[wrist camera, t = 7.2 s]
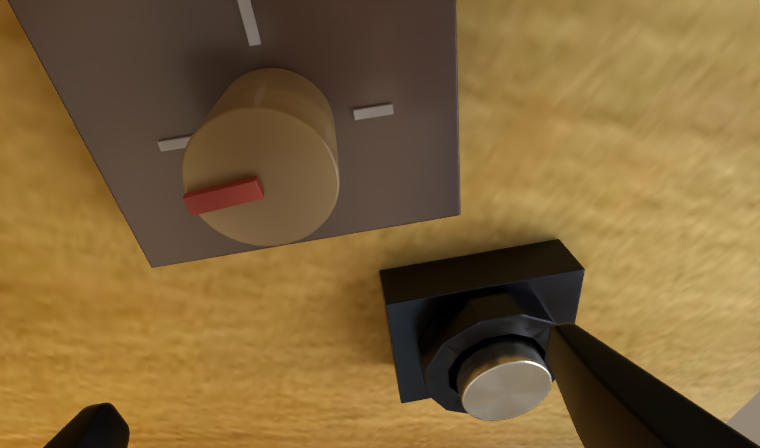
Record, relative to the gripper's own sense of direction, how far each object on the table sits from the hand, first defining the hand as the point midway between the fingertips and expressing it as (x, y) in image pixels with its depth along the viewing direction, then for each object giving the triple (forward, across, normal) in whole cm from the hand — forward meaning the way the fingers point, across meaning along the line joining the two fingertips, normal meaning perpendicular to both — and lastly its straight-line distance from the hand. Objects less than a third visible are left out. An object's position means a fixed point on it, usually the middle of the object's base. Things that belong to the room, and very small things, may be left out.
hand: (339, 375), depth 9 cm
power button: (+8, -6, +11) cm, 15 cm away
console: (+12, +1, -2) cm, 12 cm away
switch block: (+12, -6, +11) cm, 17 cm away
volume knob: (+9, +1, -2) cm, 9 cm away
